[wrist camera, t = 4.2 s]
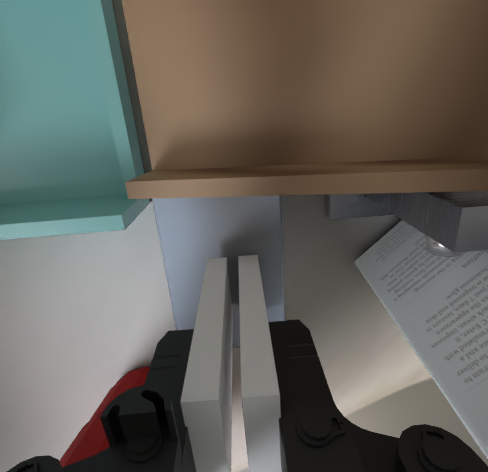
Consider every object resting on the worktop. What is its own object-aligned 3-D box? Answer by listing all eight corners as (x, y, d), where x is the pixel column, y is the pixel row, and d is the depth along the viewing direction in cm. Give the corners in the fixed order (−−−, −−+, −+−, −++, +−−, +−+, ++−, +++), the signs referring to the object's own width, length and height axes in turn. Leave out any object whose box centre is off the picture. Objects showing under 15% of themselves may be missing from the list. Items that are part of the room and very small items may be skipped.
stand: (326, 216, 16) (391, 286, 10) (334, -115, 12) (469, -420, 5) (440, 206, 16) (582, 270, 10) (493, -128, 12) (839, -446, 5)
